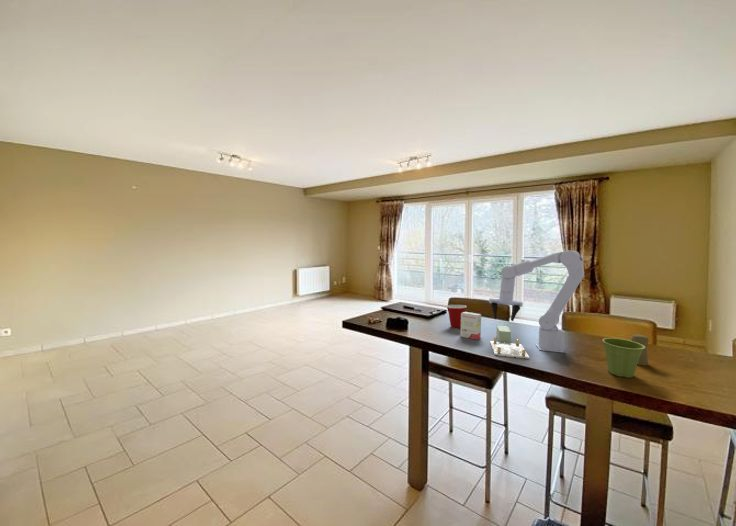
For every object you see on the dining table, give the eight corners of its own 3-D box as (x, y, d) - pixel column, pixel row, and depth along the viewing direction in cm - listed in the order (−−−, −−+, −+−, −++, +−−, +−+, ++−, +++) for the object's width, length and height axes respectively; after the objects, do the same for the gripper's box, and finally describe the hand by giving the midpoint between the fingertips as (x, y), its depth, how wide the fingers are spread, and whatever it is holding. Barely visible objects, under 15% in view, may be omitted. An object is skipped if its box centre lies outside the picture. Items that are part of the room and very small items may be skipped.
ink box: (481, 337, 153) (482, 313, 152) (477, 340, 149) (478, 315, 148) (464, 334, 158) (464, 311, 157) (459, 336, 154) (460, 312, 154)
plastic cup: (453, 323, 179) (454, 302, 179) (470, 327, 171) (470, 305, 170) (441, 326, 172) (442, 304, 172) (458, 330, 164) (459, 308, 163)
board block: (507, 337, 155) (507, 326, 154) (510, 343, 145) (511, 331, 145) (496, 336, 156) (496, 325, 156) (498, 342, 146) (499, 330, 146)
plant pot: (597, 373, 112) (599, 342, 111) (603, 364, 120) (605, 335, 120) (641, 384, 104) (643, 351, 103) (644, 374, 112) (646, 343, 111)
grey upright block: (624, 360, 125) (626, 333, 124) (634, 359, 127) (636, 332, 126) (642, 366, 119) (644, 338, 118) (652, 364, 121) (654, 336, 121)
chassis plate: (521, 345, 141) (521, 339, 141) (529, 359, 125) (529, 351, 125) (490, 342, 145) (490, 336, 145) (494, 355, 129) (494, 348, 128)
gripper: (521, 291, 150) (517, 319, 152) (489, 288, 154) (486, 315, 155) (525, 294, 144) (521, 323, 145) (491, 290, 147) (488, 319, 148)
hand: (503, 319), depth 150 cm, fingers open, 7 cm apart
